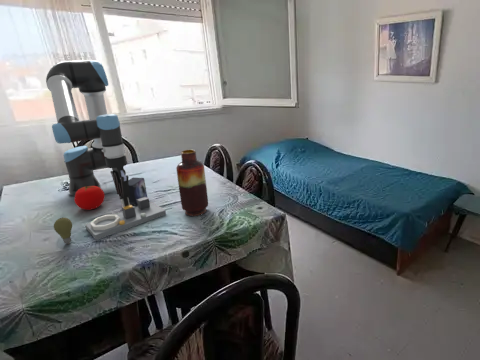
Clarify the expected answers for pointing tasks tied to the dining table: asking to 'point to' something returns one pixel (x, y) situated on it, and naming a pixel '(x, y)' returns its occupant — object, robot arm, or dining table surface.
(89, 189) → the tomato
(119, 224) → the breaker panel
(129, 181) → the small box
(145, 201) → the plain toggle
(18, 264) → the dining table surface
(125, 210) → the tagged toggle
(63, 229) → the light bulb
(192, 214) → the vase
